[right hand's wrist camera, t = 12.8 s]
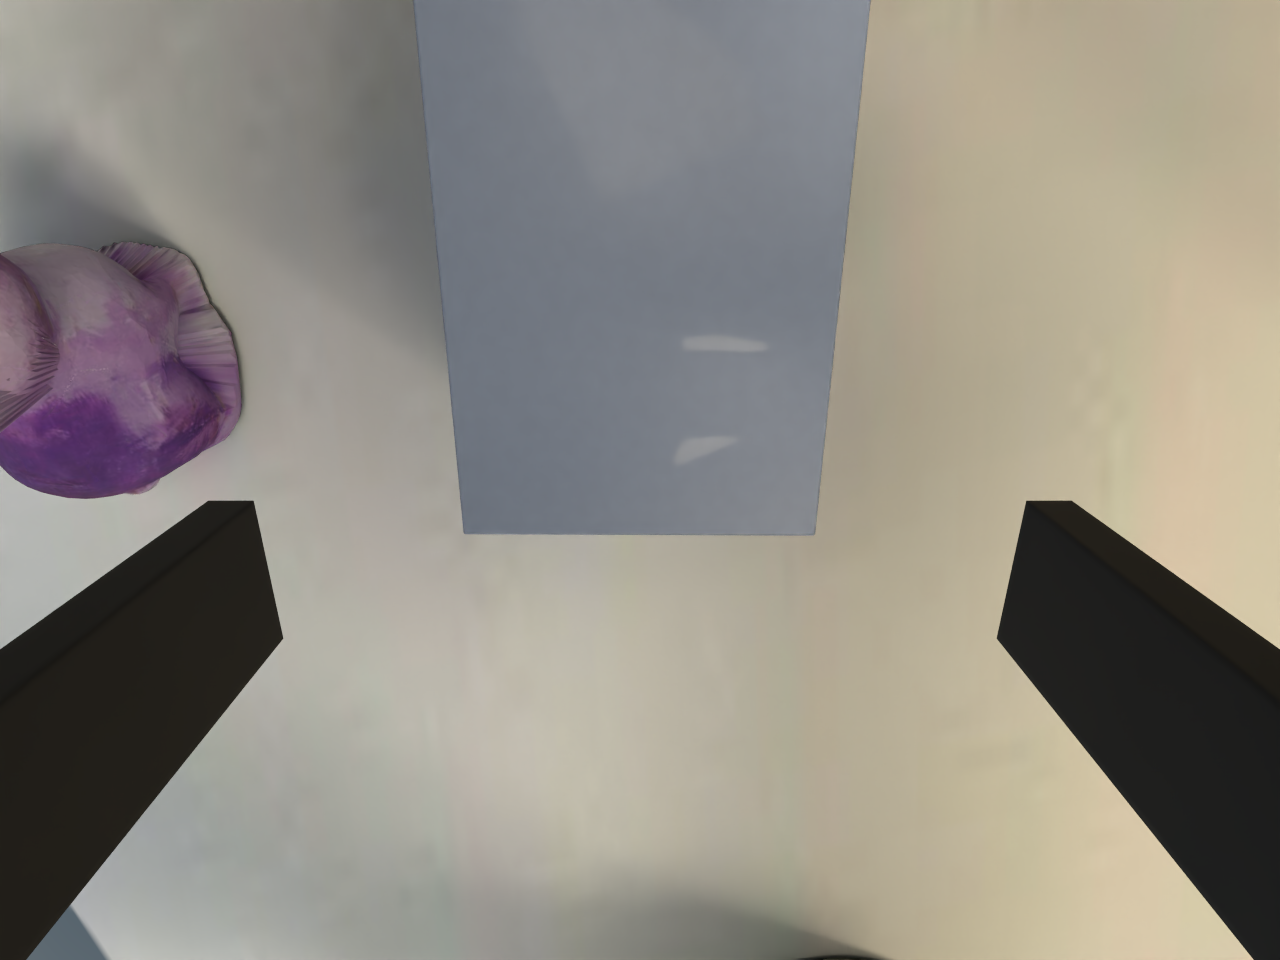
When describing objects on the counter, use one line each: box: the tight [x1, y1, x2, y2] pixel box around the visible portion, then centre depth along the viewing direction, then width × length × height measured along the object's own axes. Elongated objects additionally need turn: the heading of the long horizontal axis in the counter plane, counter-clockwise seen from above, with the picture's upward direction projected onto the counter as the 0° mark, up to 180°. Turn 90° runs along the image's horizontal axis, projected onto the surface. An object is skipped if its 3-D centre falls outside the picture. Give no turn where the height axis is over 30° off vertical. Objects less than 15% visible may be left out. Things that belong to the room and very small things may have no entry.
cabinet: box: [413, 0, 871, 535], centre depth 25 cm, size 16×11×11 cm
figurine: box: [0, 242, 242, 499], centre depth 25 cm, size 9×10×15 cm
